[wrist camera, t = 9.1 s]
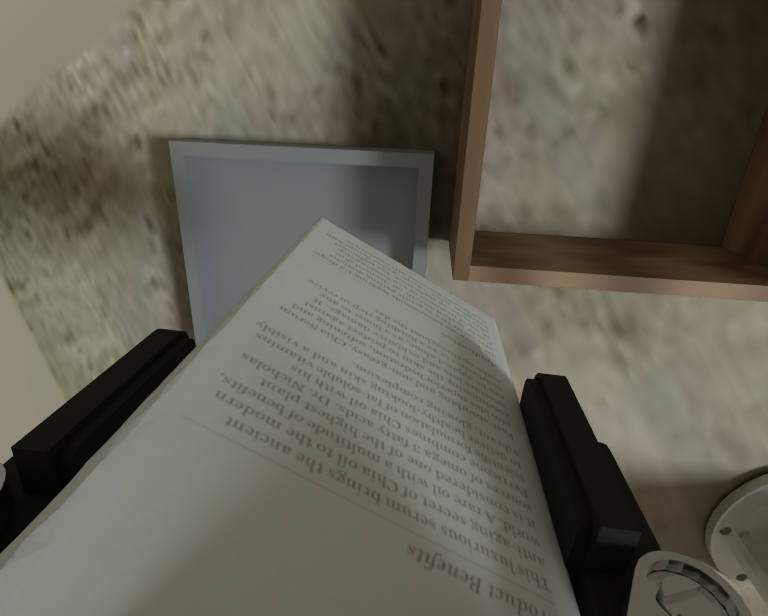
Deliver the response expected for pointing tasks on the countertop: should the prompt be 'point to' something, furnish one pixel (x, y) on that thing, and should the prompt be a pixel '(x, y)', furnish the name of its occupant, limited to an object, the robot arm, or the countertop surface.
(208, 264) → the grey tray
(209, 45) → the countertop surface
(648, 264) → the walnut bin
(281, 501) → the skincare box
